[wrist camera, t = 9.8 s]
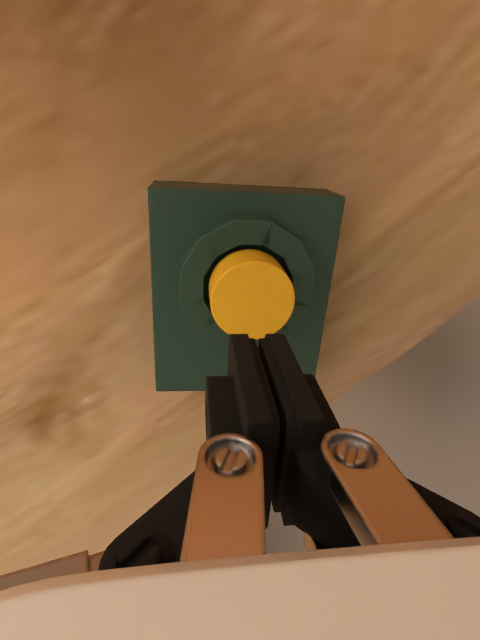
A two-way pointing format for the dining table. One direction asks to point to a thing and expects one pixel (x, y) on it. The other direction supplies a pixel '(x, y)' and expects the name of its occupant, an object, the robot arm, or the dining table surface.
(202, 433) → the dining table surface
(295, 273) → the button block
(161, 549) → the robot arm
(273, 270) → the yellow push button
